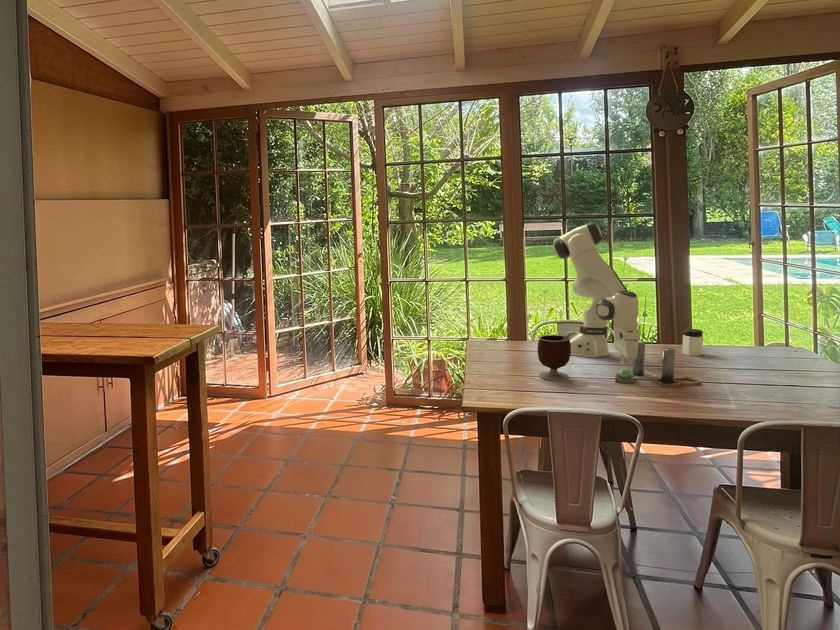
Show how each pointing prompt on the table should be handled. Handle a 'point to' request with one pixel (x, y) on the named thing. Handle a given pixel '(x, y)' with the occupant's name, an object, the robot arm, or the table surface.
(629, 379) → the switch box
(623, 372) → the button
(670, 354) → the cylinder
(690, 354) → the jar
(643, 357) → the cylinder
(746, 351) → the table surface
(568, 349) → the mate gourd
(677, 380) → the tray
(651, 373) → the square tray
